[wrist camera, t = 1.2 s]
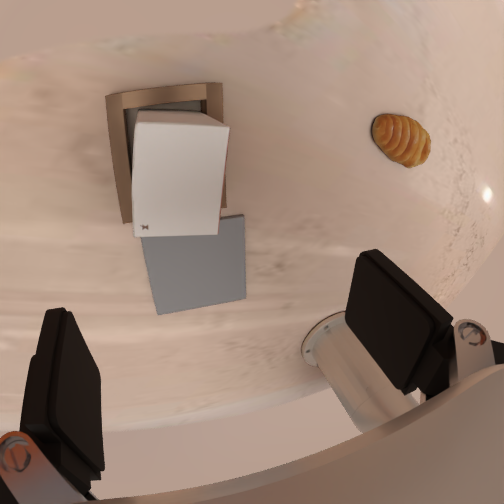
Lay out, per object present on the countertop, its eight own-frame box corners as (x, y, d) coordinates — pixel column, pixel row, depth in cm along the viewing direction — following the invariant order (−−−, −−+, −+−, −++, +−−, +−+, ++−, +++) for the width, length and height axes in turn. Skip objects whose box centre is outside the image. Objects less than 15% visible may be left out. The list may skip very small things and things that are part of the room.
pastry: (361, 147, 39) (379, 155, 35) (377, 100, 36) (396, 104, 33) (406, 167, 42) (424, 175, 39) (421, 126, 40) (439, 132, 37)
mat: (242, 214, 38) (244, 216, 38) (244, 295, 44) (246, 298, 44) (139, 230, 35) (139, 232, 34) (157, 312, 41) (157, 315, 41)
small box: (193, 183, 34) (219, 237, 24) (134, 183, 32) (131, 240, 22) (200, 109, 31) (232, 125, 20) (138, 107, 28) (132, 122, 18)
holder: (214, 82, 29) (222, 82, 27) (219, 195, 36) (226, 207, 33) (109, 94, 27) (105, 96, 24) (124, 210, 33) (123, 223, 30)
